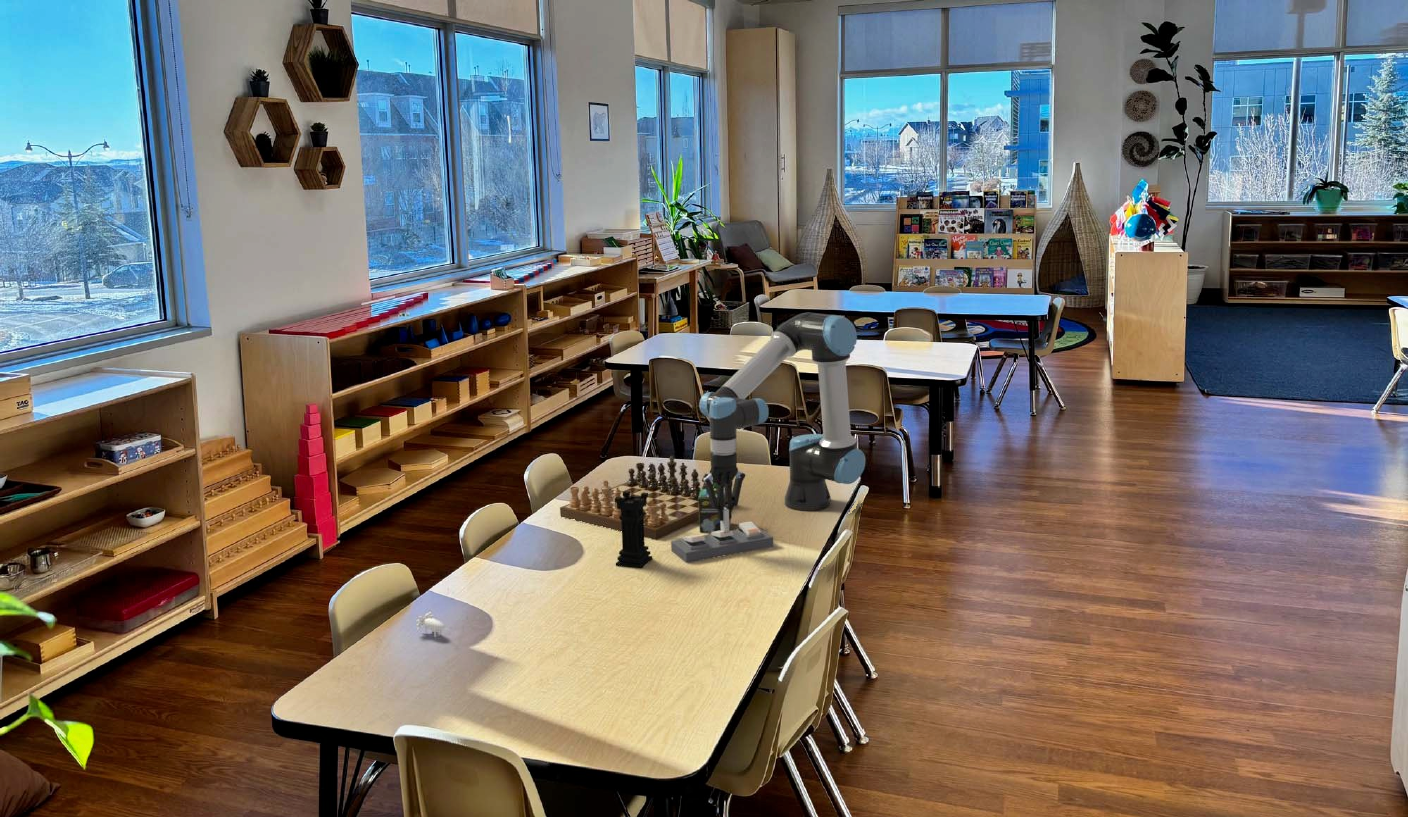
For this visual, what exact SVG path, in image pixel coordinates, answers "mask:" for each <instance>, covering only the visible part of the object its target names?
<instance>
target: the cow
mask: <svg viewBox="0 0 1408 817" xmlns="http://www.w3.org/2000/svg"><path fill="white" fill-rule="evenodd" d="M432 613H433V612H432V610H430V611H429V612H427V613H426V614H425V615H419V616H416V617H417V620H415V622H417V624H415V626H417V628H416V630H419V629H420V628H421V626H424V629H425V630H424V631H425V635H426V634H427V635H428V629H429V630H431V631H432V632H433V635H434V637H436V638H437V631H439V635H440V634H442V635H443V633H442V631H443V630H446V629H452V626H449V627H445V624H444V623H443V622H442V621H441V620H439V619H435V618H434V617H433V616H434V614H432ZM432 632H431V633H432ZM434 637H433V638H434Z"/></svg>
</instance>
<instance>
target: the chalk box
mask: <svg viewBox="0 0 1408 817" xmlns="http://www.w3.org/2000/svg"><path fill="white" fill-rule="evenodd" d="M712 484H713V487H714V486H715V487H716V483H713V482H712ZM714 491H715V495H716V499H717V489H714ZM698 505H699V521H698V523H699V524H698V525H699V532H700V533H711V532H714V531H720V530H721V524H720V520H718V510H717V509H715V508H713V507H712V506H711V503H710V499H709V495H708V491H707V487H706V489H702V488H701V491H700V495H699V497H698ZM724 507H725V488H724ZM725 508H726V507H725ZM731 523H732V518H731V519H729V529H731V528H730V527H731Z"/></svg>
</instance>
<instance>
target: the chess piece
mask: <svg viewBox="0 0 1408 817" xmlns="http://www.w3.org/2000/svg"><path fill="white" fill-rule="evenodd" d="M647 497H648V493H645V492H643V493H641V497H639V496H630V491H624V492H623V498H622V497H616V498H615V502H616V503H617V509H621V516H620V517H619V519H621V524H622V532H621V544H622V549H621V550H620V551H619V552H618V556H617V561H616V563H615V567H622V568H631V569H632V568H633V569H639V570H640V569H643V568H644V567H645V566H647V564H649V563H650V562H651V561H652V560H653V556H652V555H651V551H650V550H649V546H648V545H645V537H644V516H645V512H643V506H645V505H646V504H647Z"/></svg>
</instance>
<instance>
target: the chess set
mask: <svg viewBox="0 0 1408 817" xmlns="http://www.w3.org/2000/svg"><path fill="white" fill-rule="evenodd" d="M666 464H667V468H668V469H667V473H669V477H668V476H666V472H665V470H666V467H665V465H664V463H662V462H660V463H659V465H658V466H657V468H656V465H655V464H654V463H652V462H650V464H648V468H647V469H646V470H647V472H649V474H648V475H647V472H646V471H645V470H644V469H645V463H643V462H637V463H636V464H635V467H636V469H637V473H636V474H635V472H636V471H635V469H634V468H629V469H628V477H629V478H628V480H627V482H624V483H621V484H619V485H616V486H613V487H612V486H609V481H608V480H606V479H605V480H603V484H602V485H603V486H601V488H600V490H601V491H599V489H598V488H597V487H593V488H592V489H591V490H592V491H591V492H590V491H589V490H590V488H589V486H588V485H584V486H582V488H581V489H582V490H581V492H580V488H579V487H578V486H571V487H570V488H569V493H570V494H571V499H570V500H569V501H570V502H569V504H566V505H562V506H561V507H559V515H560V516H561V517H560V518H562V517H566V518H565V519H567V518H569V519H568V520H571V519H575V520H577V521H576V522H579V521H582V522H581V523H583V522H585V523H584V524H587V523H589V524H588V525H592V524H594V525H593V526H596V525H597V527H600V526H603V527H602V528H604V527H606V528H605V529H608V528H611V529H610V530H612V529H615V530H614V531H617V530H618V531H617V532H621V531H622V524H621V519H619V517H620V516H621V509H617V503H616V502H615V498H616V497H622V498H623V492H624V491H630V496H639V497H641V493H643V492H645V493H648V497H647V504H646V505H645V506H643V512H645V516H644V538H646V539H650V538H651V540H654V541H658V540H660V539H661V538H664V537H666V536H669V535H670V534H673V533H675V532H677V531H679V530H681V529H683V528H687V527H689V526H691V525H692V524H695V523H698V522H699V505H698V497H699V495H700V491H701V490H702V489H706V484H705V483H704V481H703V480H702V479H701V482H703V484H702V486H701V483H700V480H699V472H698V471H697V469H696V468H693V469H692V472H691V474H690V476H691V477H692V478H691V482H692V485H690V484H689V483H690V482H689V480H688V479H687V478H686V476H687V475H688V472H687V468H688V466H687V465H685V462H682V463H681V465H680V466H678V469H680V472H679V474H678V475H679V476H680V477H681V478H680V482H679V481H678V478H677V477H676V474H675V473H677V472H678V470H677V469H676V466H677V461H675V457H674V455H670V456H669V461H668V462H667V463H666ZM657 471H658V472H657ZM657 475H659V477H658V478H657ZM708 475H709V474H708V473H706V472H704V475H703V477H707V476H708ZM634 477H635V478H634ZM703 477H702V478H703ZM712 481H713V482H712V483H716V482H715V480H714V479H713V478H712ZM700 486H701V487H700ZM713 487H714V489H717V487H715V486H713ZM579 492H580V498H579V496H578V493H579ZM590 494H591V495H590ZM575 520H574V521H575Z"/></svg>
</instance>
